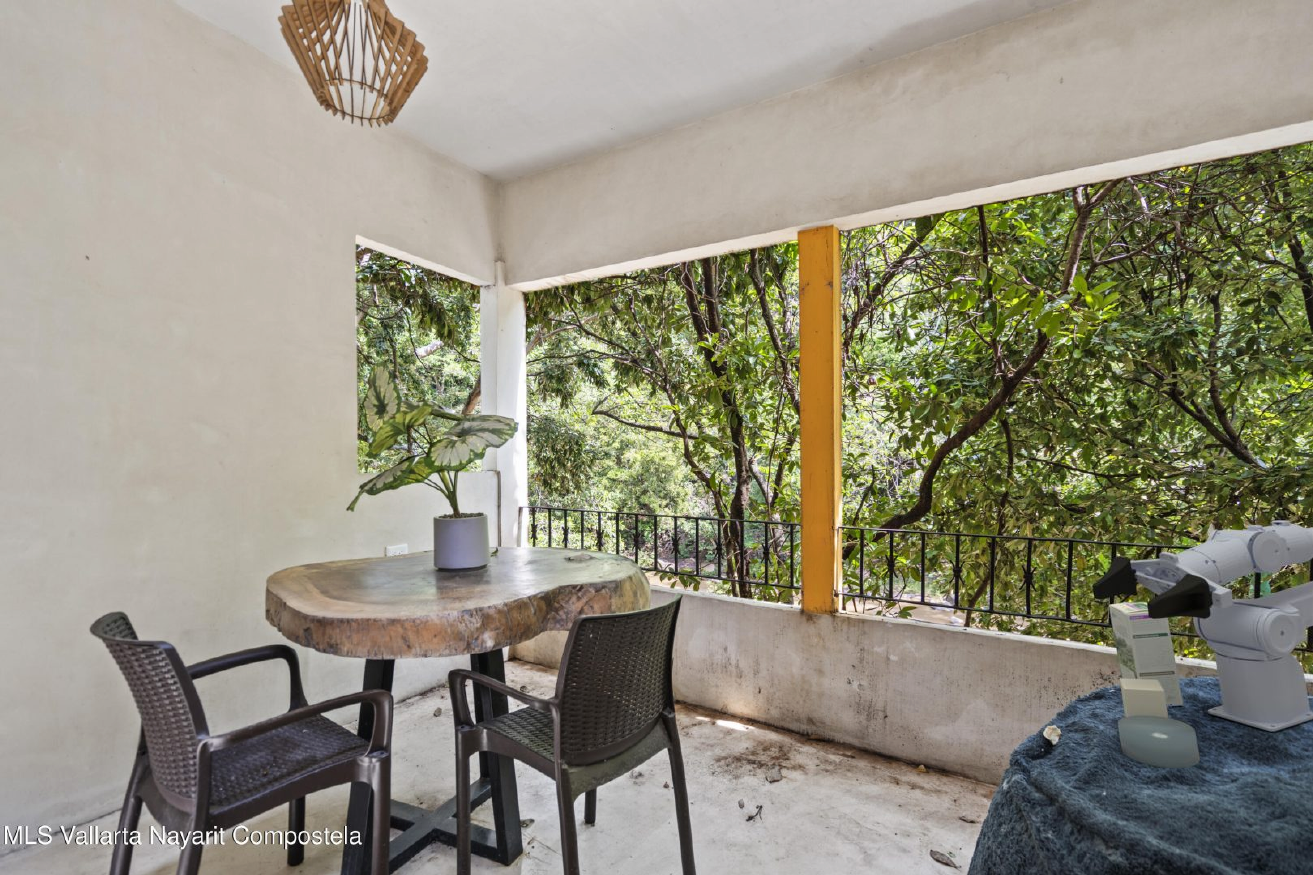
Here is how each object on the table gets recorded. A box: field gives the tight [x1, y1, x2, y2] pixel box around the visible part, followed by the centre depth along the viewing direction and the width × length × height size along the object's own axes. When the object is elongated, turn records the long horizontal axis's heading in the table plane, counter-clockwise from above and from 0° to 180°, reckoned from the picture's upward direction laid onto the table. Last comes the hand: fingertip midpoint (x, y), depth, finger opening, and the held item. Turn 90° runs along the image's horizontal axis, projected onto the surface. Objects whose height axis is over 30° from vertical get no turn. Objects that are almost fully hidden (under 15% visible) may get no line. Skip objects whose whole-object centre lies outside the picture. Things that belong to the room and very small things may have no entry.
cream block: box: [1119, 677, 1169, 718], centre depth 91 cm, size 4×4×6 cm
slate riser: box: [1117, 715, 1201, 769], centre depth 83 cm, size 8×8×4 cm
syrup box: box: [1108, 601, 1184, 706], centre depth 99 cm, size 6×6×14 cm
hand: (1121, 601), depth 86 cm, fingers open, 7 cm apart
